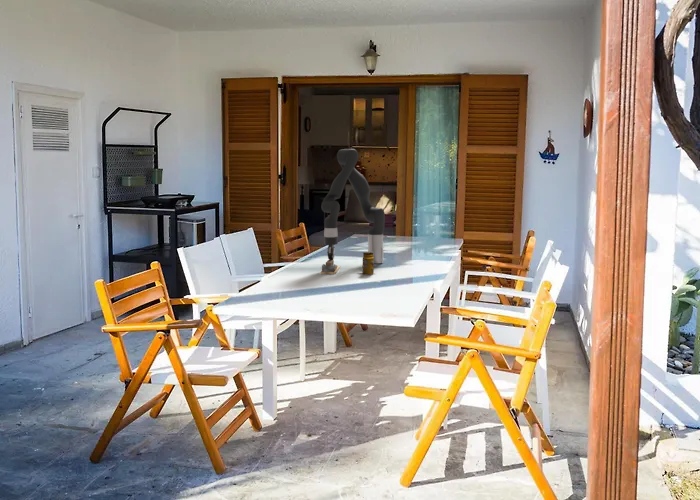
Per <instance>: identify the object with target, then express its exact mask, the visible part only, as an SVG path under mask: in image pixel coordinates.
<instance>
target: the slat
mask: <svg viewBox="0 0 700 500" xmlns="http://www.w3.org/2000/svg"><path fill="white" fill-rule="evenodd" d="M334 262H335V261H334V259H333V260H329V259H328V260H327V261H326V262H325V265H334V264H335V263H334Z"/></svg>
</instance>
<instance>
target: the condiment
mask: <svg viewBox="0 0 700 500" xmlns="http://www.w3.org/2000/svg"><path fill="white" fill-rule="evenodd" d="M362 253H363V255H362V272H360V273H359V272H357V273H356V274H358V275H360V276H372V275H375V273H374V271H375V269H374V268H375V267H374V266H375V265H374V264H375V263H374V258H373V252H368V251H365V252H362Z"/></svg>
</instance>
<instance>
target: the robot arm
mask: <svg viewBox="0 0 700 500" xmlns="http://www.w3.org/2000/svg"><path fill="white" fill-rule="evenodd" d="M336 159H337V162H338V164H339V165H340V167H341V169H342V170H341V171H340V172H339V173H338V175H337V176H336V177H335V178H334V179H333V181H332V183H331V186H330V189H329V192H328V193H327V194H326V196H325V197H324V198H323V200H322V202H321V211H322V212H323V213H325V214H326V213H327V214H329V216H327V217H324V230H323V235H324V236H323V238H324V240H323V242H324V245H325V246H326V245H327V249H326V252H327V259H328V260H334V259H335V251H336V250H335V249H336V246H335V245H337V244H339V243H338V242H339V241H338V239H339V237H338V236H339V235H338V234H339V233H338V218H339V214H340V209H341V207H340V206H341V205H340V204H339V201H338V199H341V196H342V194H343V191H344V189H345V186H346V184H347V182H348V181H349V183H350V185H351V188H352V189H353V192H354V194H355V196H356V198H357V200H358V202H359V204H360V207H361V210H362V212H363V215H364V217H365V220H366V221H367V222H368V223H372V224H373V226H372V227H371V228H369V229H367V252H373V258H374V264H384V231H385V224H386V214H385V213H386V212H385V210H384V209H383V208H381V207H373V205H372V204H371V201H370V195H371V188H370V185H369V182H368V180H367V179H366V177H365V176H364V175H363V174H361V172H359V171H358V170H357V169H356V168H355V167H356V165H357V162H358V159H359V152H358V151H357V150H356V149H355V148H344V149H343V148H342V149H339V150H338V152H337V153H336Z"/></svg>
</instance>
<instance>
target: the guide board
mask: <svg viewBox="0 0 700 500" xmlns="http://www.w3.org/2000/svg"><path fill="white" fill-rule="evenodd" d="M340 269H341V266H340V265H337V264H335V263H334V265H326V263H325V264H324V263H323V264H322V265H321V271H320V274H321V275H322V274H323V275H324V274H325V275H336V273H338V271H339V270H340Z"/></svg>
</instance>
